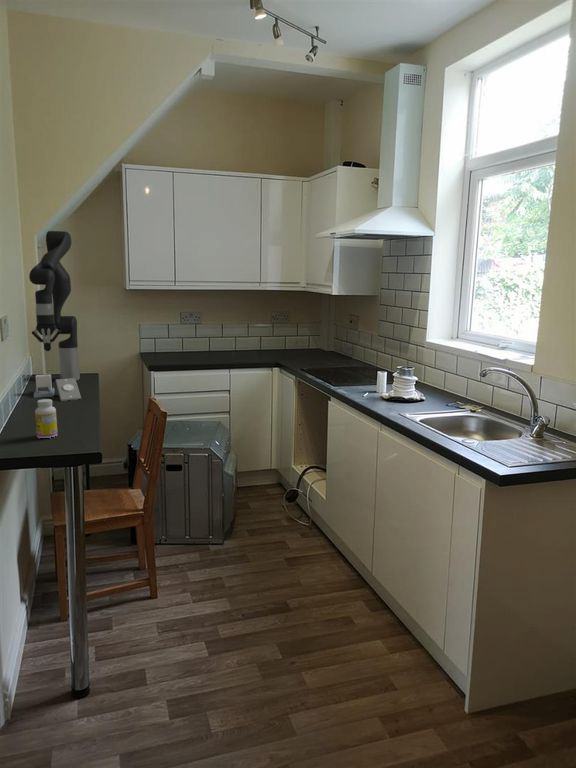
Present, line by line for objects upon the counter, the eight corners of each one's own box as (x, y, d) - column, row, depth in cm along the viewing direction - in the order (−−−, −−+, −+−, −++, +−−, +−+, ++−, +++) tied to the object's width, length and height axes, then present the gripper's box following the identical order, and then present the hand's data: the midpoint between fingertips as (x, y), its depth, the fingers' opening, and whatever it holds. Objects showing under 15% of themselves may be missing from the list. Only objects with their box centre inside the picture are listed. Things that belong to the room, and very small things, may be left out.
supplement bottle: (36, 435, 206) (34, 399, 204) (57, 433, 209) (54, 397, 207) (37, 440, 200) (34, 403, 198) (58, 438, 203) (55, 401, 201)
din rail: (40, 388, 280) (39, 382, 279) (50, 387, 281) (49, 382, 281) (38, 394, 267) (37, 388, 267) (48, 393, 268) (48, 387, 268)
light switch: (61, 398, 259) (55, 377, 268) (60, 408, 262) (55, 387, 272) (81, 396, 263) (75, 376, 272) (80, 406, 266) (74, 386, 276)
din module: (37, 389, 276) (36, 374, 274) (51, 389, 277) (50, 373, 276) (36, 391, 271) (35, 376, 270) (51, 391, 273) (50, 375, 271)
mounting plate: (36, 391, 280) (36, 388, 279) (54, 390, 282) (54, 387, 282) (33, 397, 267) (33, 394, 266) (53, 396, 269) (52, 393, 269)
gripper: (60, 312, 277) (63, 349, 280) (30, 312, 273) (33, 350, 276) (60, 314, 270) (62, 351, 273) (28, 314, 266) (31, 352, 269)
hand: (47, 350), depth 275 cm, fingers closed
